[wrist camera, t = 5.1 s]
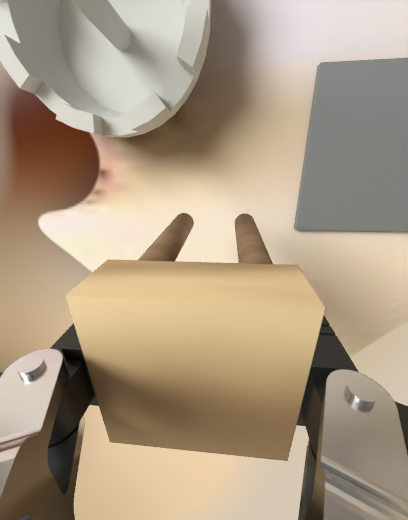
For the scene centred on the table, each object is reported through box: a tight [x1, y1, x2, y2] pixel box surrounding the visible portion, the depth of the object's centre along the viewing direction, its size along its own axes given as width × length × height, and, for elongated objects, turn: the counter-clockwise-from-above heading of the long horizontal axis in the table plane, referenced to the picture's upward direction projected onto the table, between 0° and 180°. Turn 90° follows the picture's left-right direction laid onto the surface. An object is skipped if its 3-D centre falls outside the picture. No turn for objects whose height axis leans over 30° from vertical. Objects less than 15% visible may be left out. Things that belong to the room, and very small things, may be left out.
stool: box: [66, 213, 325, 461], centre depth 11 cm, size 6×6×10 cm
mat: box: [294, 58, 408, 231], centre depth 18 cm, size 12×12×1 cm
